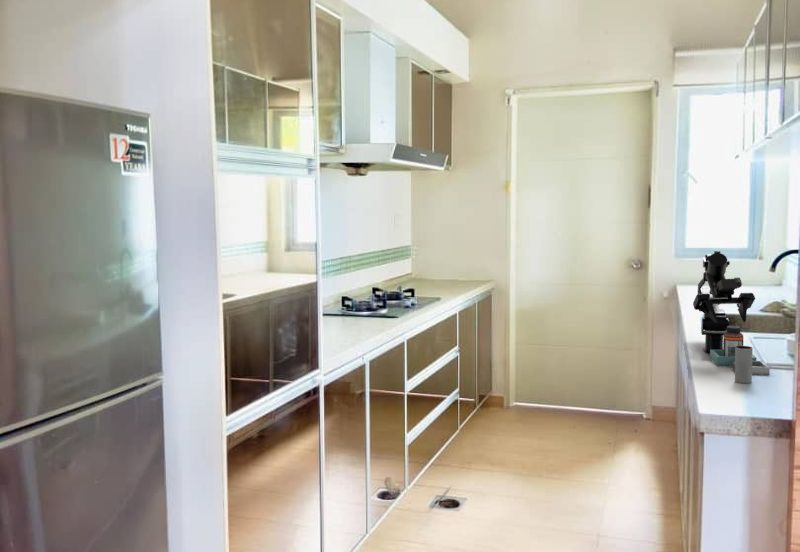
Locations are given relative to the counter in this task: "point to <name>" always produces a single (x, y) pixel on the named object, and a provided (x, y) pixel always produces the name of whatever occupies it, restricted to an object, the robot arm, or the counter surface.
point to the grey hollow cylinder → (743, 364)
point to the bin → (722, 358)
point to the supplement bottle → (732, 340)
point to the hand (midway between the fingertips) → (730, 321)
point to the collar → (755, 367)
